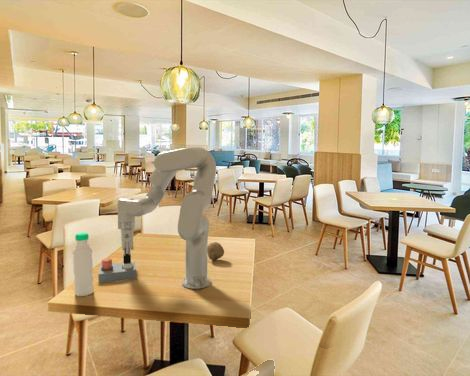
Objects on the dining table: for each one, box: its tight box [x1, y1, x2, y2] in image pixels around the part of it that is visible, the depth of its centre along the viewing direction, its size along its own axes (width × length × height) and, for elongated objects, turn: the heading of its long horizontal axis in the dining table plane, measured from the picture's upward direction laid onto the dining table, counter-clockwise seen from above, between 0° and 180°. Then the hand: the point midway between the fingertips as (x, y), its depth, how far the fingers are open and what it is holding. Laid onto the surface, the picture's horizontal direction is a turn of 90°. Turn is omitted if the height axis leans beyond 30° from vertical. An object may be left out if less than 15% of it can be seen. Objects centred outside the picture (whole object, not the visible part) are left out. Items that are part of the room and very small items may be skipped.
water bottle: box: [72, 232, 94, 297], centre depth 135 cm, size 7×7×25 cm
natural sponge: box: [207, 241, 225, 262], centre depth 177 cm, size 9×9×10 cm
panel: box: [97, 261, 137, 284], centre depth 155 cm, size 12×16×4 cm
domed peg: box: [122, 261, 134, 269], centre depth 156 cm, size 4×4×4 cm
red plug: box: [101, 258, 113, 271], centre depth 153 cm, size 4×4×4 cm
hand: (127, 262), depth 156 cm, fingers closed
